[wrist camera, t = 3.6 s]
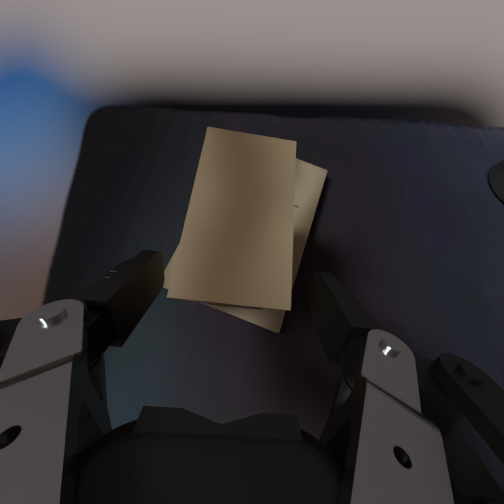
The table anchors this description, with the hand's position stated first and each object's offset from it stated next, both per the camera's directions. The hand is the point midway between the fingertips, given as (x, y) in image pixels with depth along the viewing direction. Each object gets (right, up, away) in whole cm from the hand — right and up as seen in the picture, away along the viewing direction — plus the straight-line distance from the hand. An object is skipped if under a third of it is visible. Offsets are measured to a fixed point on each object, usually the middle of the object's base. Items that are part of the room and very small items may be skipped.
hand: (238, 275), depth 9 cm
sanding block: (-1, +1, +8) cm, 8 cm away
